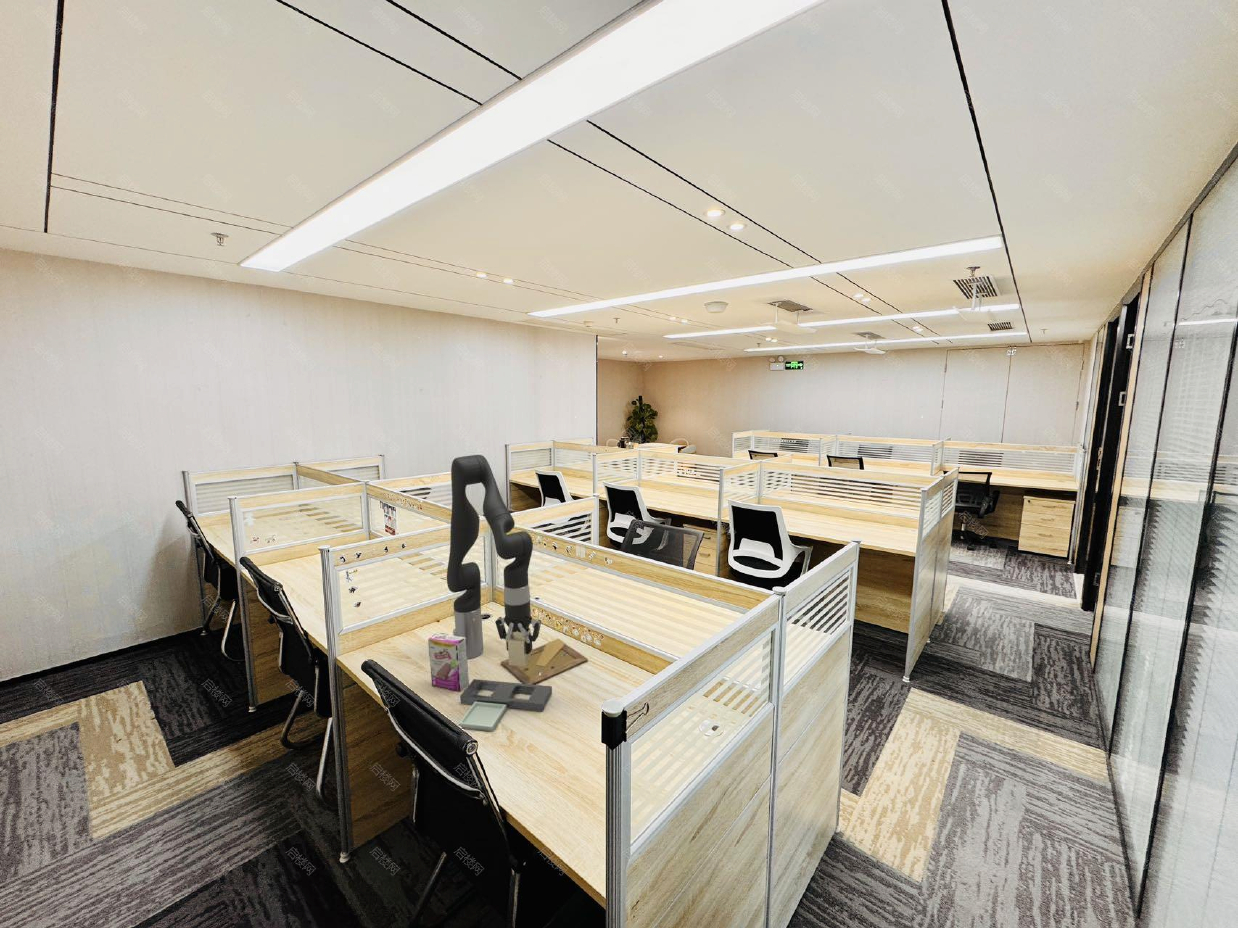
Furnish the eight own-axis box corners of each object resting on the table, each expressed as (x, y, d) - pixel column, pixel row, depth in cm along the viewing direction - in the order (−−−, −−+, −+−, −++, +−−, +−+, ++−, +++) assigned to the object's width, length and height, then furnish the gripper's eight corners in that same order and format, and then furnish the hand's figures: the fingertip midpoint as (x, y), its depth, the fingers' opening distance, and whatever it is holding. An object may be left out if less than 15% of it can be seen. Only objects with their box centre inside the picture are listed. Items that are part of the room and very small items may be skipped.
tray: (459, 728, 142) (458, 723, 142) (475, 706, 152) (474, 701, 152) (492, 731, 141) (492, 726, 140) (506, 709, 150) (506, 704, 150)
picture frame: (558, 642, 190) (500, 665, 175) (558, 638, 190) (500, 660, 175) (588, 663, 176) (527, 689, 161) (587, 658, 175) (527, 684, 161)
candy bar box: (430, 686, 163) (426, 638, 160) (441, 677, 167) (437, 631, 165) (460, 692, 159) (456, 643, 157) (469, 683, 164) (466, 636, 161)
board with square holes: (460, 703, 153) (460, 695, 153) (474, 686, 162) (473, 679, 162) (542, 711, 149) (542, 703, 148) (552, 693, 158) (551, 686, 157)
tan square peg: (509, 664, 151) (507, 639, 150) (515, 655, 156) (514, 631, 154) (525, 666, 150) (523, 641, 149) (530, 657, 155) (529, 632, 153)
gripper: (488, 602, 147) (492, 656, 150) (535, 605, 145) (538, 660, 147) (499, 592, 155) (502, 644, 157) (544, 594, 152) (546, 647, 155)
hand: (519, 651), depth 152 cm, fingers closed on tan square peg, 5 cm apart
